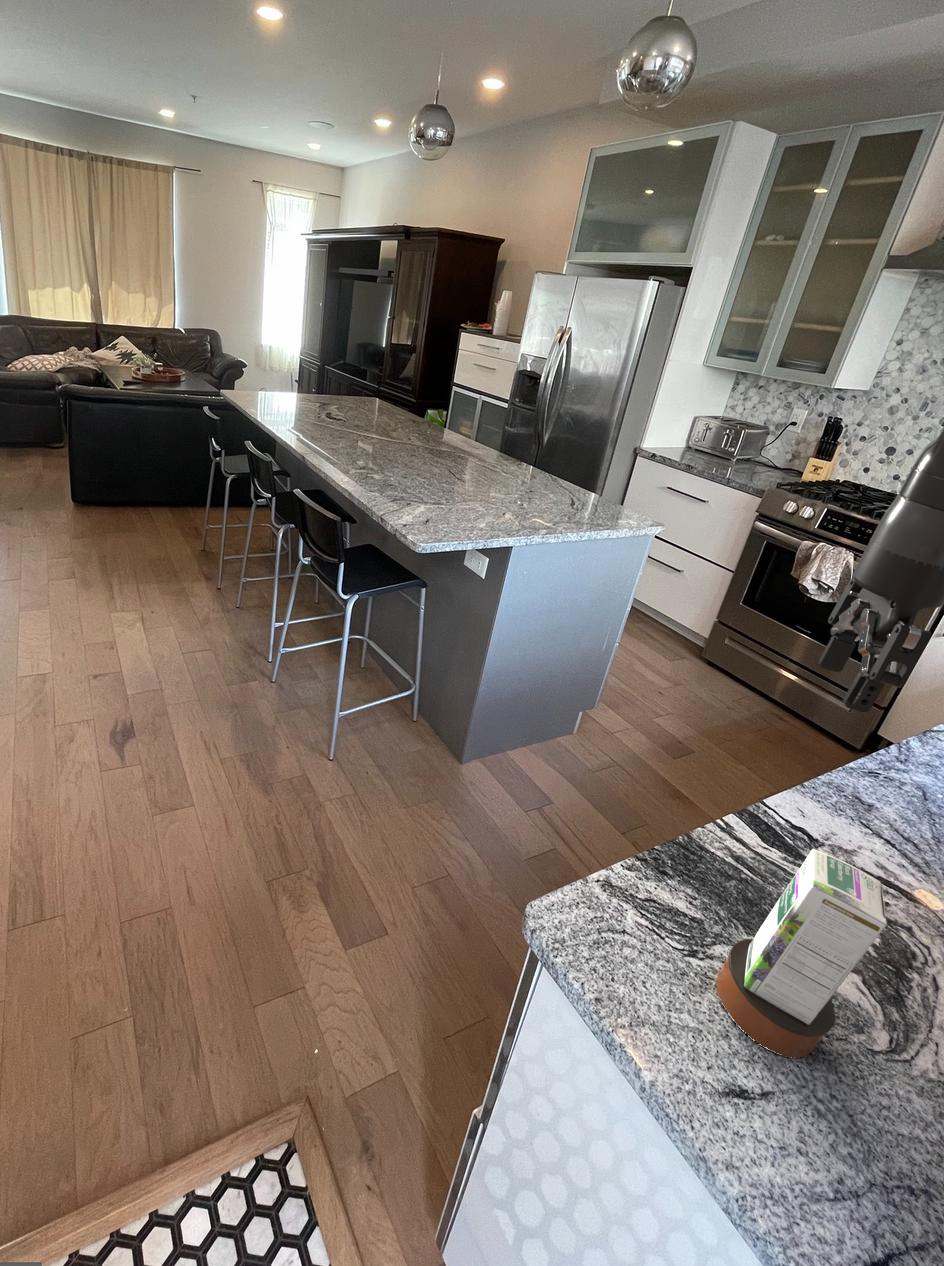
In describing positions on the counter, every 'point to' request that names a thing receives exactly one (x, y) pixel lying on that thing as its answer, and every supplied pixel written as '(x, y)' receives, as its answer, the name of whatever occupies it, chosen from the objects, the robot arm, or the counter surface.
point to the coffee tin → (767, 1011)
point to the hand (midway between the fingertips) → (840, 687)
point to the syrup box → (815, 935)
